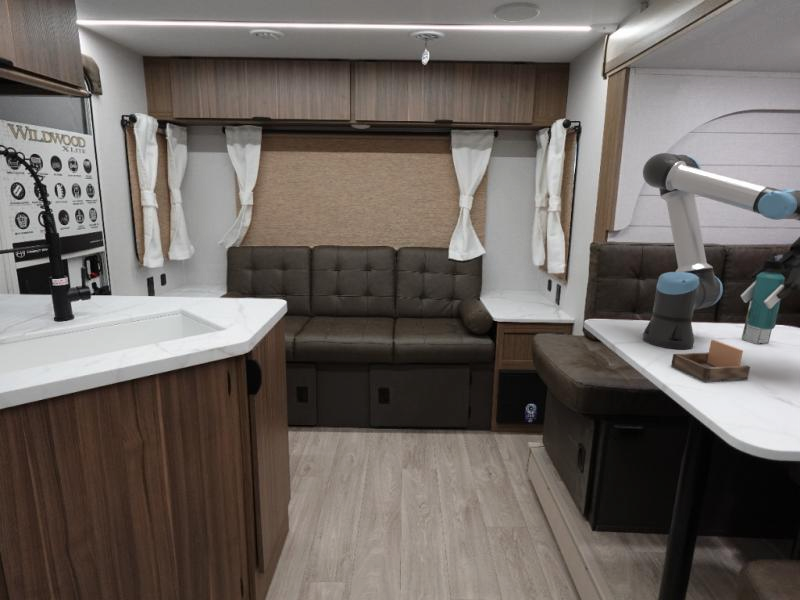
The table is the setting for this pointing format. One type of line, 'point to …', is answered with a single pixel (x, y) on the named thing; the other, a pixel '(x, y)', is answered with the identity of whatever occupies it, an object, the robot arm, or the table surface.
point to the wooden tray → (707, 368)
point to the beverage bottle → (765, 297)
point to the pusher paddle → (723, 355)
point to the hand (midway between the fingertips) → (755, 302)
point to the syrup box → (755, 332)
